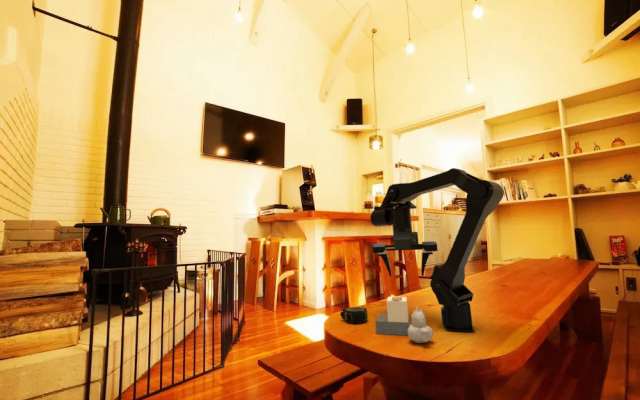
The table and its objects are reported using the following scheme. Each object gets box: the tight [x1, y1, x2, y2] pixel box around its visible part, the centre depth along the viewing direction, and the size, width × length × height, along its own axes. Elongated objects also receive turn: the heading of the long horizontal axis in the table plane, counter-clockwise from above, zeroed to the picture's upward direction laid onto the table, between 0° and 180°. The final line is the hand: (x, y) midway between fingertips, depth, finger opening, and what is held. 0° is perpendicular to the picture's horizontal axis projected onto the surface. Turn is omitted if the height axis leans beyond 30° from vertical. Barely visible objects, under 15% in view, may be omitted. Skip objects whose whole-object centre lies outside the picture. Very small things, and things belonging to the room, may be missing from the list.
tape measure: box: [339, 306, 368, 324], centre depth 83 cm, size 7×7×4 cm
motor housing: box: [375, 312, 411, 337], centre depth 74 cm, size 8×8×7 cm
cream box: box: [386, 296, 409, 323], centre depth 73 cm, size 6×5×5 cm
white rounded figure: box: [407, 305, 434, 344], centre depth 64 cm, size 5×7×8 cm
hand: (406, 276), depth 85 cm, fingers open, 9 cm apart
